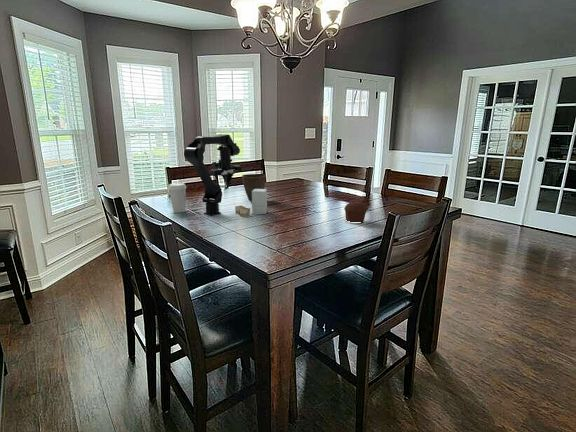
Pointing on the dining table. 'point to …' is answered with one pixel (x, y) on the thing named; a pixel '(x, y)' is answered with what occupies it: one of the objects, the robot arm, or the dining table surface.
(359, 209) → the muffin
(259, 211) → the supplement box
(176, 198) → the coffee cup
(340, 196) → the dining table surface
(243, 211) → the marked block
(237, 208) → the marked block
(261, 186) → the plant pot
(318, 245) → the dining table surface
